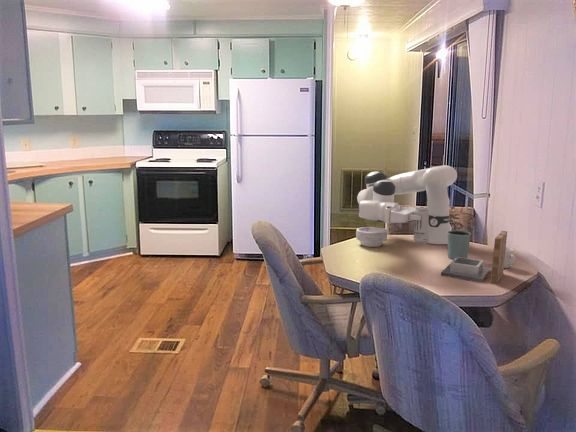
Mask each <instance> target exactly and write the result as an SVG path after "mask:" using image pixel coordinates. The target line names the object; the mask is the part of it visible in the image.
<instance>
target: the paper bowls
mask: <svg viewBox="0 0 576 432" xmlns="http://www.w3.org/2000/svg"><path fill="white" fill-rule="evenodd" d="M355 236H356V237H355V238H356V240H358V241H359V243H360V245H362V246H364V247H367V248H378V247H380V246H382V245H383V244H384V242H386V241H387V240H388V230H387V229H385V228H383V227H375V226H362V227H358V228H356V231H355Z"/></svg>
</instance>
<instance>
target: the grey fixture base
mask: <svg viewBox="0 0 576 432" xmlns="http://www.w3.org/2000/svg"><path fill="white" fill-rule="evenodd" d="M484 263H485V261H484V260H482V259H481V260H480V259H476V258H475V259H474V258H469V257H467V258H462V257H456V258H455V259H454V260H451V262H449V264H448V265H447V266H446V267H445V268H444V269H443V270H442V271H441V273H440V276H441V277H447V278H453V279H460V280H465V281H470V282H477V283H483V282H484V281H485V280H486V278H487V277H488V276H489V274H490V273H491V272H492V267H488V266H484Z"/></svg>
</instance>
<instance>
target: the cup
mask: <svg viewBox="0 0 576 432" xmlns="http://www.w3.org/2000/svg"><path fill="white" fill-rule="evenodd" d="M514 252H515V250H514V249H513V248H510V247H507V246H506V249H505V258H504V268H503V269H509V268H510V267H511V266H513V265H515V264H516V263H515V262H516V256H515V255H514Z"/></svg>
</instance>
